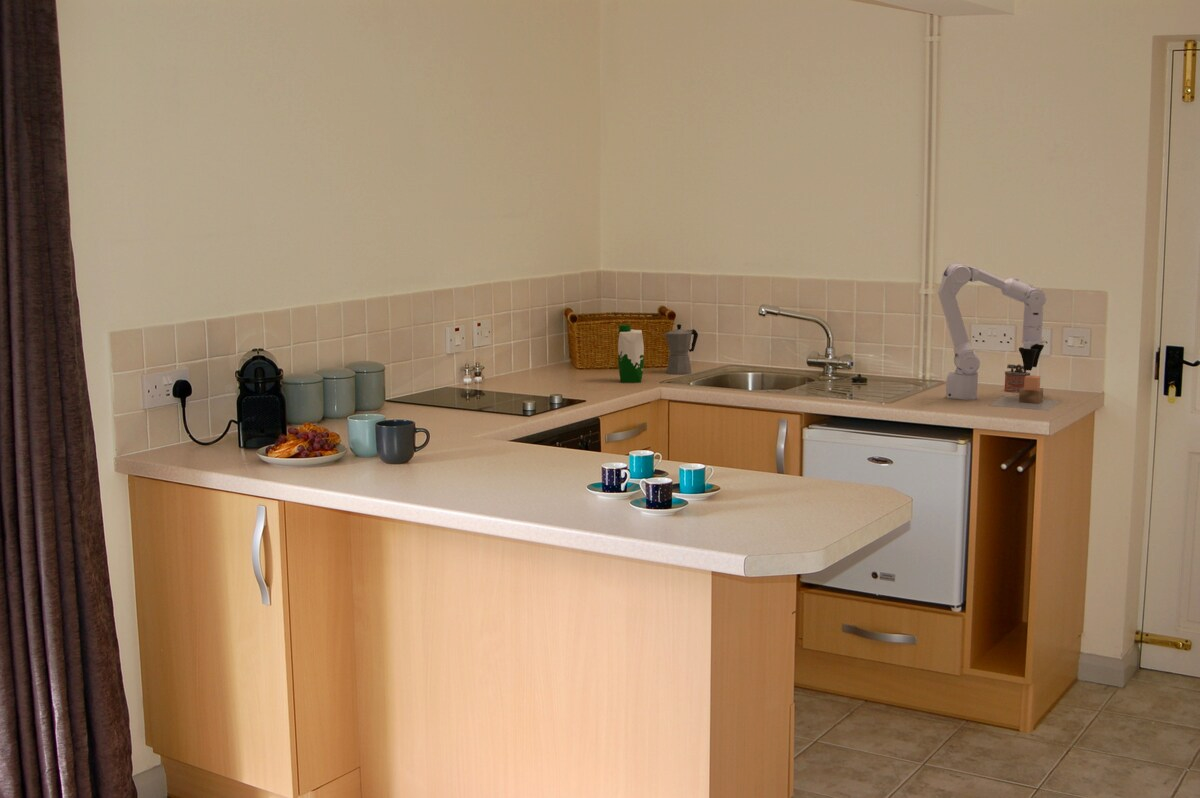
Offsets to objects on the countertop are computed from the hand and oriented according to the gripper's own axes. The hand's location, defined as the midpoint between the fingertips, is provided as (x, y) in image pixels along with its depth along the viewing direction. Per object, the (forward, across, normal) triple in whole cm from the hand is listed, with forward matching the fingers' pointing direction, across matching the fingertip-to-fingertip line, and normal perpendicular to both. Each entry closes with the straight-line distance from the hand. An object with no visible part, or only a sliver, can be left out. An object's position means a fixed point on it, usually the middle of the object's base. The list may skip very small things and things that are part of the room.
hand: (1030, 368), depth 409 cm
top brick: (+5, -7, -2) cm, 9 cm away
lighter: (+11, +10, +6) cm, 16 cm away
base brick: (+9, -7, -2) cm, 12 cm away
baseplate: (+10, -11, -1) cm, 15 cm away
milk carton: (+11, -24, +132) cm, 135 cm away
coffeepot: (+11, +2, +125) cm, 125 cm away
